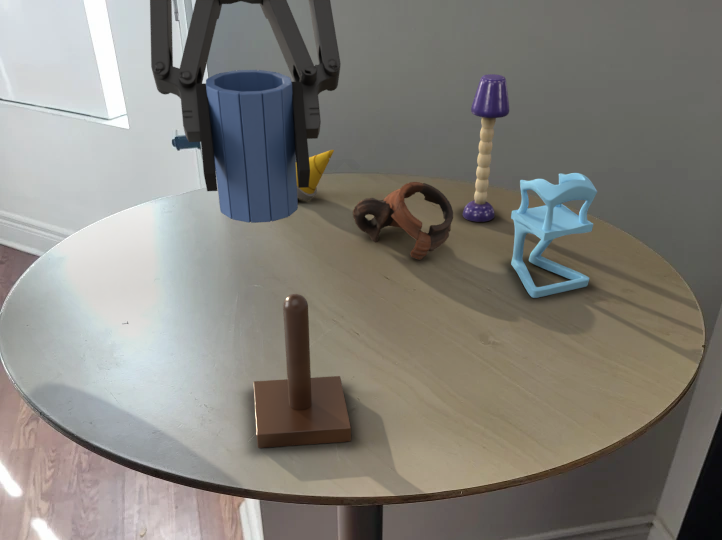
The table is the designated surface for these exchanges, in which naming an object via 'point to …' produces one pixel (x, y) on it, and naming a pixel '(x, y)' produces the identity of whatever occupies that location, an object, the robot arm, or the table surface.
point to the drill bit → (314, 174)
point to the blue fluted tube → (253, 144)
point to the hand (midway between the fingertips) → (257, 180)
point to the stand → (299, 393)
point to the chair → (551, 228)
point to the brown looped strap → (405, 217)
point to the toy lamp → (486, 140)
